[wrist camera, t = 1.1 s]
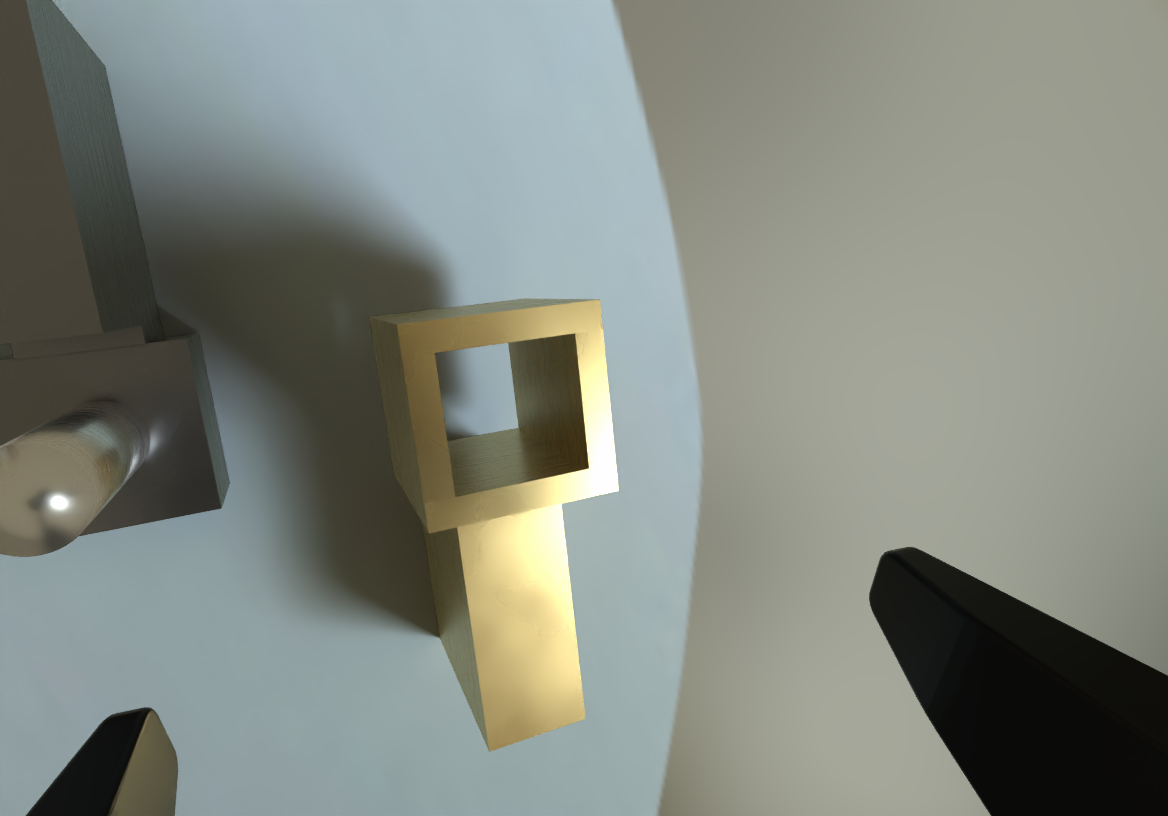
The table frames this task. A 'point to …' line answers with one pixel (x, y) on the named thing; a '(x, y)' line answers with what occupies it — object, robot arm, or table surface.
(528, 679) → the square hoop paddle
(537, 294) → the table surface
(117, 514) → the block with metal peg
